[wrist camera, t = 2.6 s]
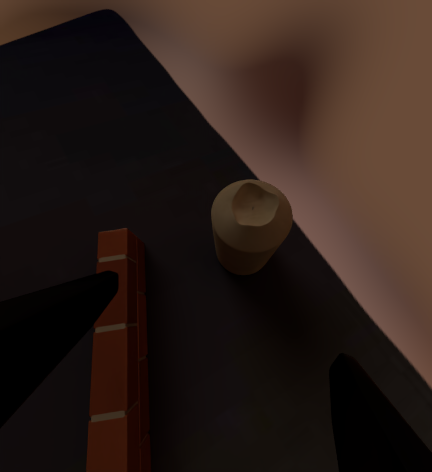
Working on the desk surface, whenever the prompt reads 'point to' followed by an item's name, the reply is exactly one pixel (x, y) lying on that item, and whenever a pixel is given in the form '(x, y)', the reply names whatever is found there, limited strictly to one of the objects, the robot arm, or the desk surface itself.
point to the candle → (249, 225)
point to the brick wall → (120, 363)
